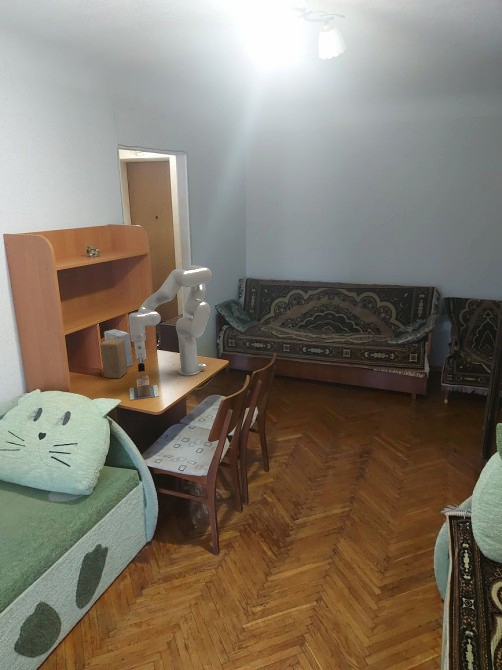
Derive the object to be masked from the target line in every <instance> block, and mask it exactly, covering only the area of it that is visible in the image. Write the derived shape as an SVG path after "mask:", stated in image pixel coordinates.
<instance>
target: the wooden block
mask: <svg viewBox="0 0 502 670" xmlns="http://www.w3.org/2000/svg"><path fill="white" fill-rule="evenodd" d="M99 346H100V347H99V348H100V353H101V354H100V355H101V361H102V371H103V377H104V378H111V379H121V378H123V376H125V375H126V374H127V373H128V372H129V369H128V367H127V360H126V351H125V342H124V339H107V340H105V339H104V340H103V341H102V342H101V343H100V345H99Z"/></svg>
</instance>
